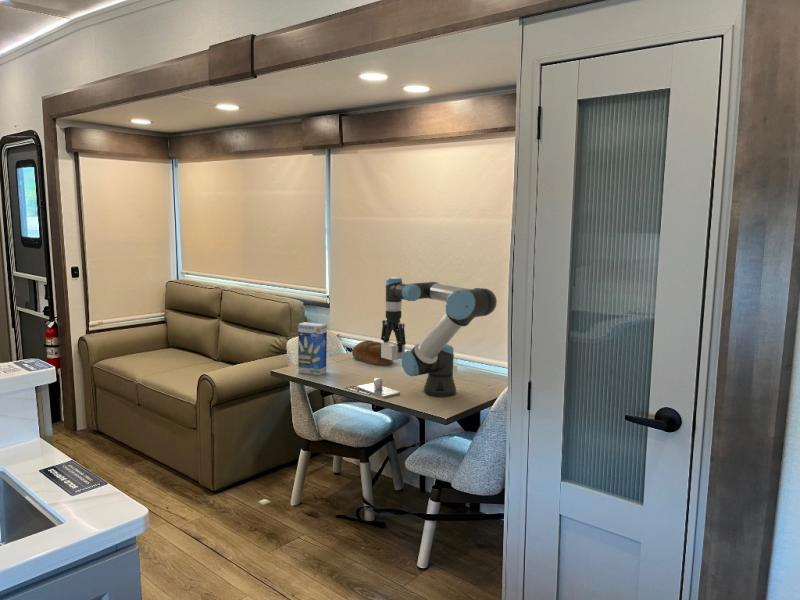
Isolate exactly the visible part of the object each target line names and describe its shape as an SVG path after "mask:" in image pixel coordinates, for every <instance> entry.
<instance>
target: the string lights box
mask: <svg viewBox="0 0 800 600" xmlns="http://www.w3.org/2000/svg"><path fill="white" fill-rule="evenodd" d="M327 330H328V324H326V323H318V322H308V321H304V322H300V323H298V333H297V334H298V335H297V336H298V337H297V338H298V345H297V346H298V347H297V348H298V355H297V356H298V357H297V358H298V360H297V361H298V365H297V366H298V367H297V369H298V370H297V371H298V373H300V374H308V375H315V376H321V375H324V374H326V373H327V356H328V355H327V348H328V347H327V344H328V342H327V341H328V339H327V338H328V337H327V335H328V331H327Z"/></svg>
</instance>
